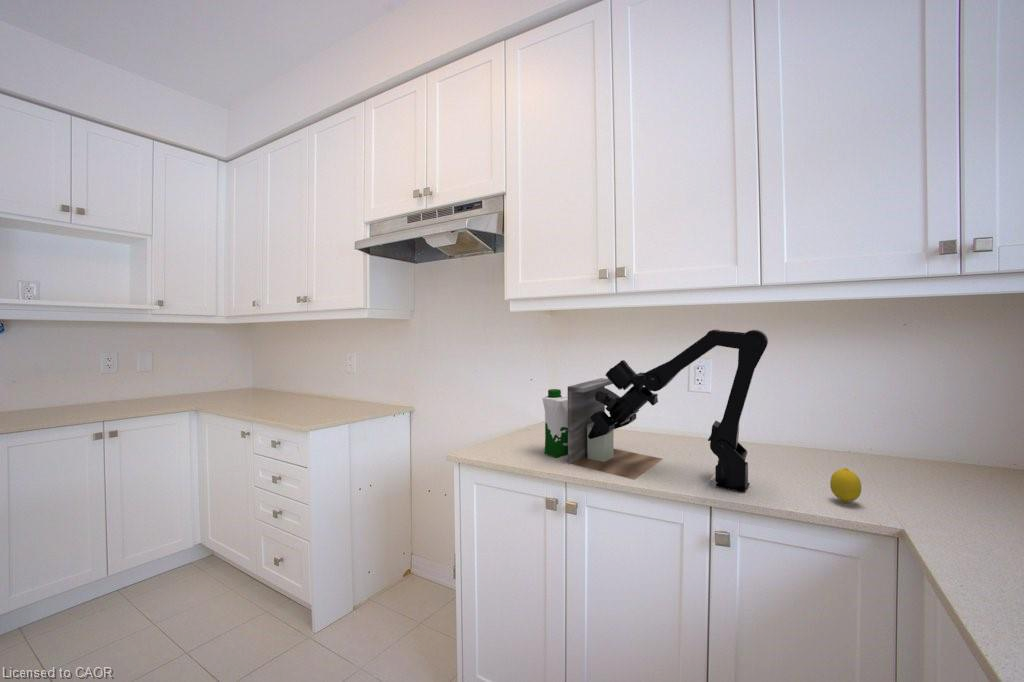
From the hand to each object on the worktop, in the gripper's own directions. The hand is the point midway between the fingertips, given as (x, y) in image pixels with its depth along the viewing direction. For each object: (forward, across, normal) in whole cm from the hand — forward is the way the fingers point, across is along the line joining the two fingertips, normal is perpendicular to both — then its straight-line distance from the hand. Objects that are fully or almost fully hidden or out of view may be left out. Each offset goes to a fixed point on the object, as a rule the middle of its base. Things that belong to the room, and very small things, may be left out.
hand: (596, 434), depth 127 cm
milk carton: (+14, +2, -3) cm, 14 cm away
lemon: (-36, -8, +47) cm, 60 cm away
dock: (+1, 0, +10) cm, 10 cm away
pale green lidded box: (+4, 0, +6) cm, 7 cm away
